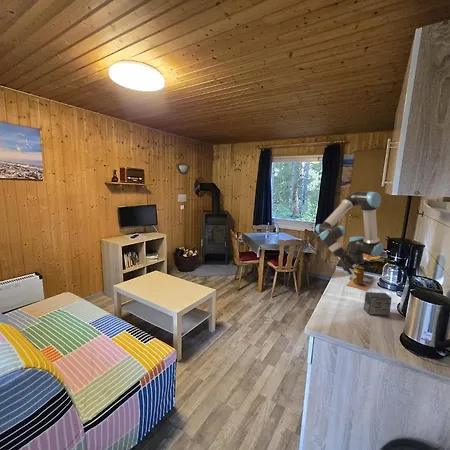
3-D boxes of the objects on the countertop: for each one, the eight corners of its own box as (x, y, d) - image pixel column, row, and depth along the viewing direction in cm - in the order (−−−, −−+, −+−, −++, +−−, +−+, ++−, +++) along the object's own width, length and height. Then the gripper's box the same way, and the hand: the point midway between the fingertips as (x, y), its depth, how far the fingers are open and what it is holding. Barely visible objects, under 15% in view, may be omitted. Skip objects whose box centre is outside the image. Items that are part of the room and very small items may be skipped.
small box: (383, 310, 130) (385, 292, 129) (389, 316, 124) (392, 298, 122) (362, 308, 131) (365, 291, 130) (368, 315, 125) (371, 296, 123)
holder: (354, 274, 181) (354, 272, 180) (374, 279, 172) (374, 277, 172) (349, 279, 171) (349, 277, 171) (370, 285, 163) (370, 282, 162)
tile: (351, 280, 170) (351, 279, 170) (370, 285, 162) (370, 284, 162) (346, 285, 161) (346, 284, 161) (366, 291, 153) (366, 289, 153)
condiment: (350, 281, 166) (352, 265, 164) (362, 282, 165) (364, 265, 163) (355, 286, 158) (357, 269, 156) (368, 286, 158) (370, 269, 156)
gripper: (337, 249, 180) (357, 273, 173) (326, 256, 161) (347, 283, 154) (346, 243, 175) (366, 267, 168) (335, 250, 157) (357, 277, 150)
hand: (357, 275), depth 161 cm, fingers open, 13 cm apart
